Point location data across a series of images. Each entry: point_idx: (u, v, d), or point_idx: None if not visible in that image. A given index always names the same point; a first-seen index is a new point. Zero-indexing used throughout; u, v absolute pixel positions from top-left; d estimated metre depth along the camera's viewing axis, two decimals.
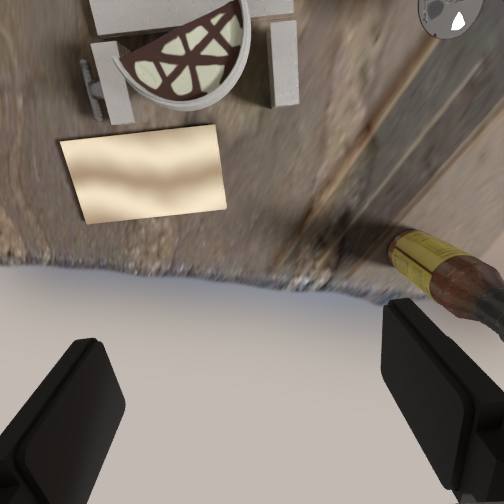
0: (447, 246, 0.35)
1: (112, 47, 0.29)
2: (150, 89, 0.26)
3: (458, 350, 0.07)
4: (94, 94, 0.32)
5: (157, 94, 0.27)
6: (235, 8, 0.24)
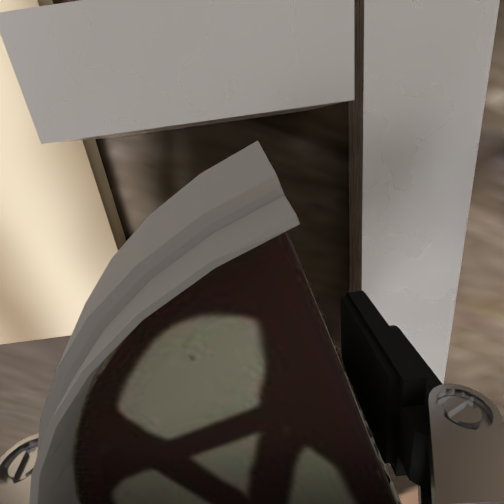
0: None
1: (331, 78, 0.07)
2: (109, 387, 0.04)
3: (395, 336, 0.08)
4: None
5: (88, 420, 0.04)
6: None
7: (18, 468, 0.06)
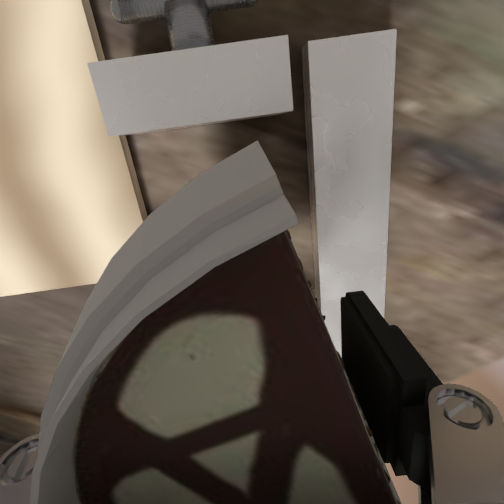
0: None
1: (279, 98, 0.11)
2: (109, 387, 0.04)
3: (394, 336, 0.08)
4: (172, 10, 0.12)
5: (87, 420, 0.04)
6: None
7: (18, 468, 0.06)
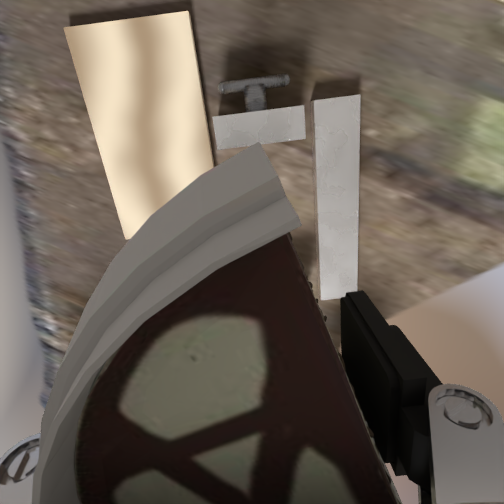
0: None
1: (299, 133, 0.24)
2: (111, 388, 0.04)
3: (395, 336, 0.08)
4: (249, 90, 0.24)
5: (88, 421, 0.04)
6: None
7: (18, 468, 0.06)
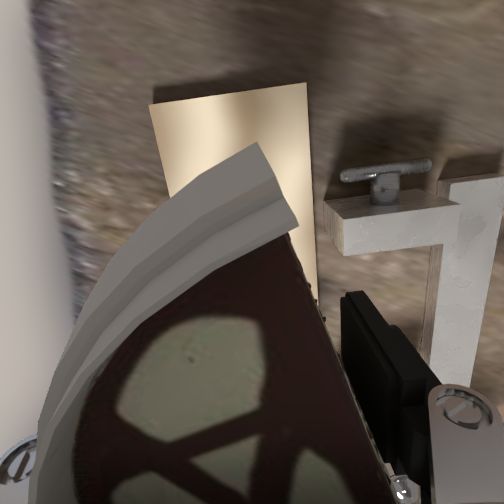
0: None
1: (449, 235, 0.19)
2: (108, 390, 0.04)
3: (394, 336, 0.08)
4: (383, 180, 0.19)
5: (86, 423, 0.04)
6: None
7: (18, 468, 0.06)
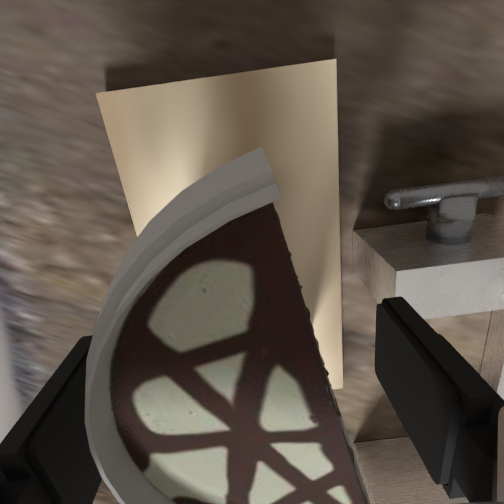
0: None
1: None
2: (145, 307, 0.06)
3: (448, 347, 0.07)
4: (452, 208, 0.13)
5: (126, 330, 0.06)
6: None
7: None
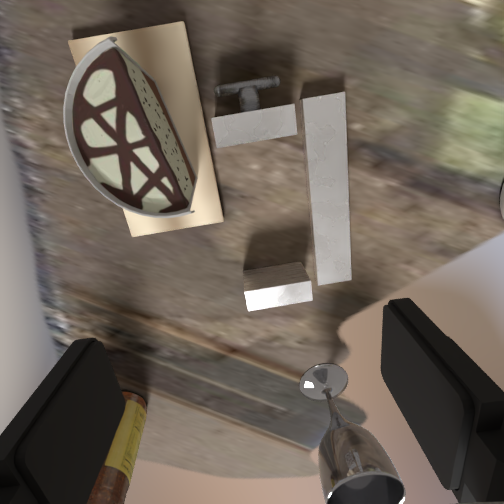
0: (134, 456, 0.36)
1: (291, 129, 0.26)
2: (81, 87, 0.20)
3: (458, 350, 0.07)
4: (243, 92, 0.26)
5: (76, 96, 0.20)
6: (177, 205, 0.23)
7: None
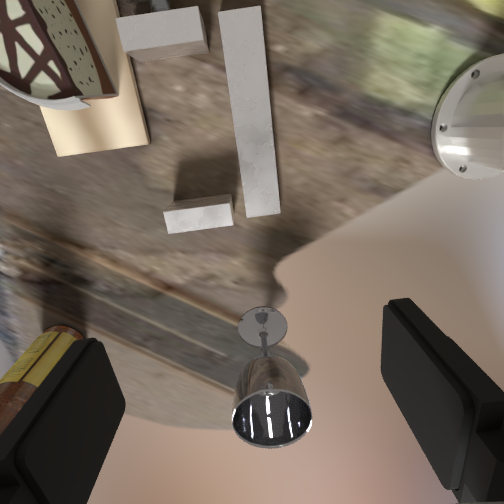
0: None
1: (196, 34, 0.26)
2: None
3: (458, 350, 0.07)
4: None
5: None
6: (66, 92, 0.23)
7: None
